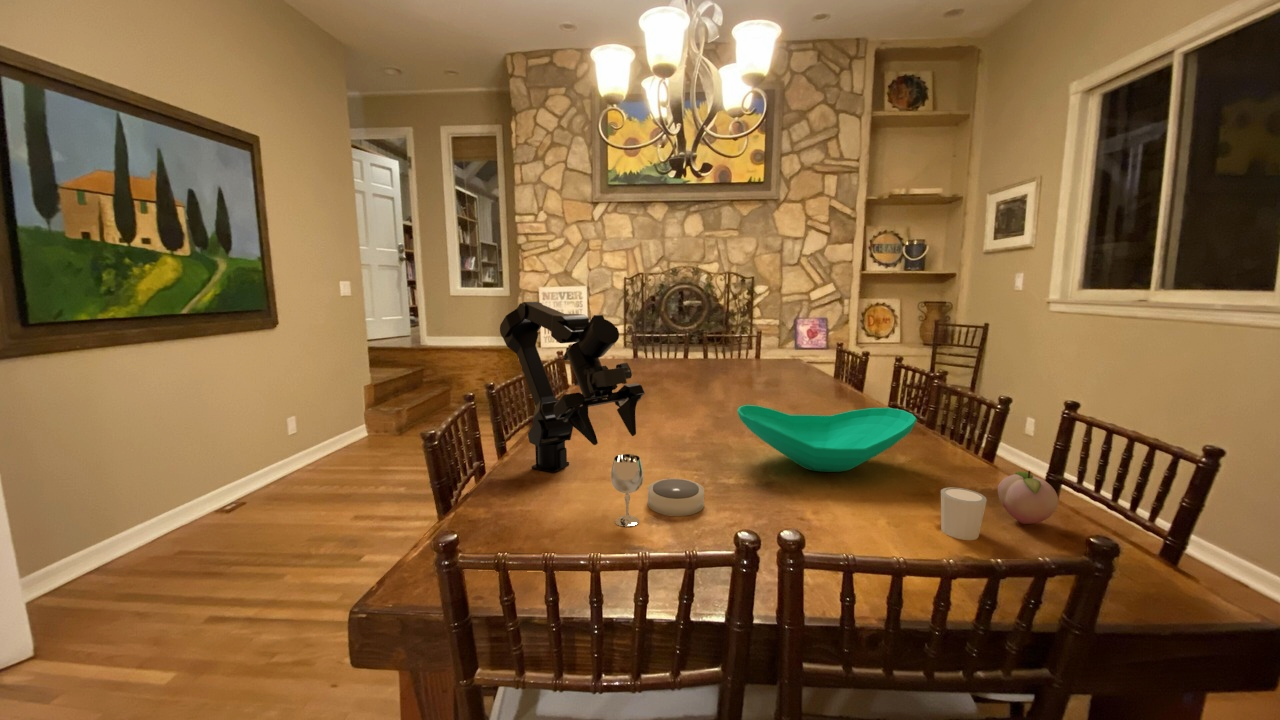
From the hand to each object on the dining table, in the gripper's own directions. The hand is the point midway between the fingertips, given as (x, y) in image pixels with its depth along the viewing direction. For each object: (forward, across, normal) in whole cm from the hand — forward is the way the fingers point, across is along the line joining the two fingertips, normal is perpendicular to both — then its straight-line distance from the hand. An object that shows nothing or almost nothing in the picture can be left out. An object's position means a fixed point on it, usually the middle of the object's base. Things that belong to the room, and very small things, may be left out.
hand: (615, 439), depth 102 cm
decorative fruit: (+42, +52, -36) cm, 76 cm away
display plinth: (+15, +9, +1) cm, 17 cm away
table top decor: (+19, +49, -4) cm, 53 cm away
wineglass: (+15, -3, +2) cm, 16 cm away
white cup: (+39, +39, -31) cm, 63 cm away
